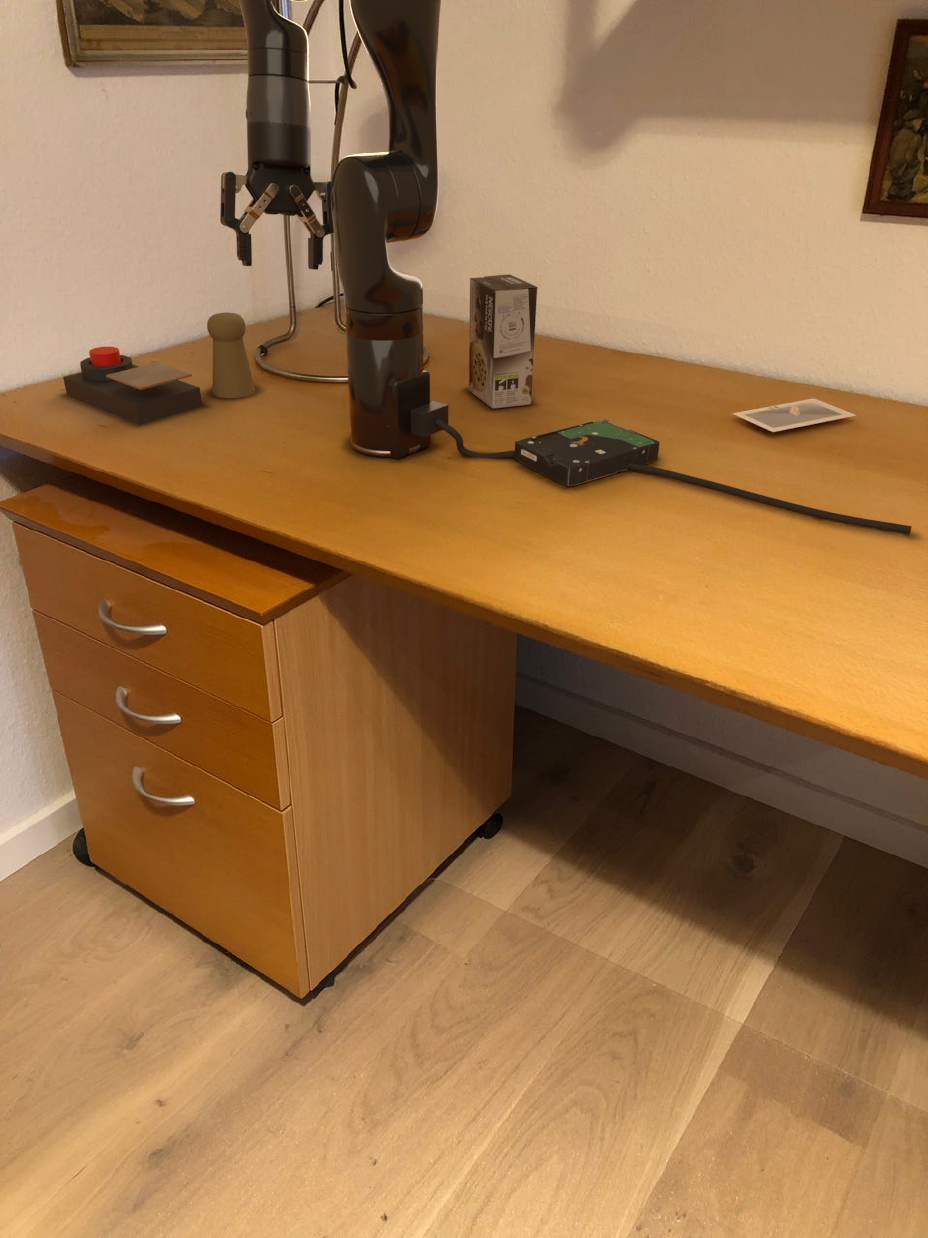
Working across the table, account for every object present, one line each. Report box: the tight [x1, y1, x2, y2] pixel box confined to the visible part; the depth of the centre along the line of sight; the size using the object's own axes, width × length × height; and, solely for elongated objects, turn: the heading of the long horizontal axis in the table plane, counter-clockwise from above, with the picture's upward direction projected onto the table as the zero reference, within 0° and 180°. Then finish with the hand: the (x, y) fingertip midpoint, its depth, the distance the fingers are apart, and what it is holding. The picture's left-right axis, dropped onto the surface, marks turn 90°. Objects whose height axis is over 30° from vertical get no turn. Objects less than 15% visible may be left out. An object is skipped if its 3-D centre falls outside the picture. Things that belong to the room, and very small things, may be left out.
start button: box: [88, 346, 121, 366], centre depth 133 cm, size 4×4×2 cm
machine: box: [62, 354, 203, 426], centre depth 131 cm, size 18×10×4 cm, turn 50°
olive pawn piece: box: [206, 311, 256, 399], centre depth 133 cm, size 6×6×11 cm
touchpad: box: [731, 397, 857, 433], centre depth 128 cm, size 8×15×2 cm, turn 117°
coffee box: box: [468, 274, 538, 410], centre depth 132 cm, size 9×6×16 cm
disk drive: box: [513, 419, 661, 487], centre depth 115 cm, size 10×3×15 cm
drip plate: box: [106, 362, 193, 390], centre depth 127 cm, size 8×8×1 cm
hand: (280, 267), depth 119 cm, fingers open, 8 cm apart
